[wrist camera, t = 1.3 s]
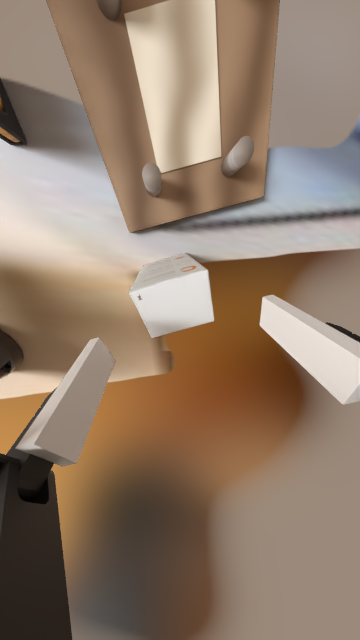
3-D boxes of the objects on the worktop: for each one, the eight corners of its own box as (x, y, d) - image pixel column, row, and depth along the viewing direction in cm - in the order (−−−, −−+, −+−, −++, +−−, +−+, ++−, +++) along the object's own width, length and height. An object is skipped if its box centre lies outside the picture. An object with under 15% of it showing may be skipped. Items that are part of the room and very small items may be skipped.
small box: (154, 297, 28) (150, 340, 17) (141, 265, 24) (126, 291, 13) (193, 286, 27) (216, 322, 16) (186, 251, 24) (208, 267, 13)
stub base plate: (131, 232, 22) (122, 232, 17) (27, -63, 11) (-72, -282, 6) (257, 198, 21) (284, 188, 17) (279, -143, 10) (373, -443, 6)
